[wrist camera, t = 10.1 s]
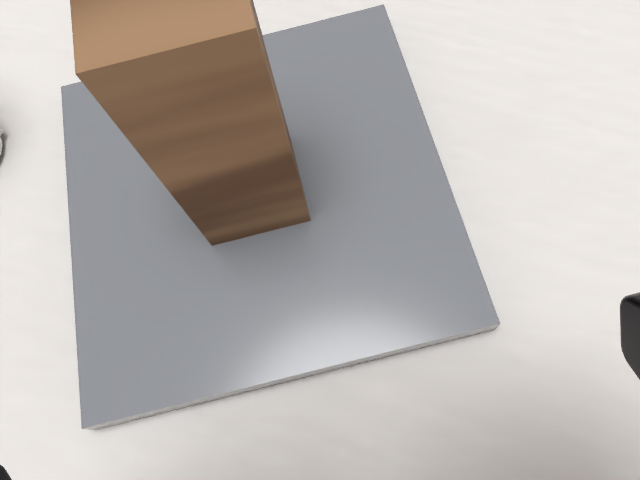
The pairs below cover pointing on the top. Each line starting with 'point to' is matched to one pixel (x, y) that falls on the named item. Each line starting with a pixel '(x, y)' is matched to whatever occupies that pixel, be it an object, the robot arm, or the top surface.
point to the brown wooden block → (195, 107)
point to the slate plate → (271, 242)
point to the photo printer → (0, 141)
